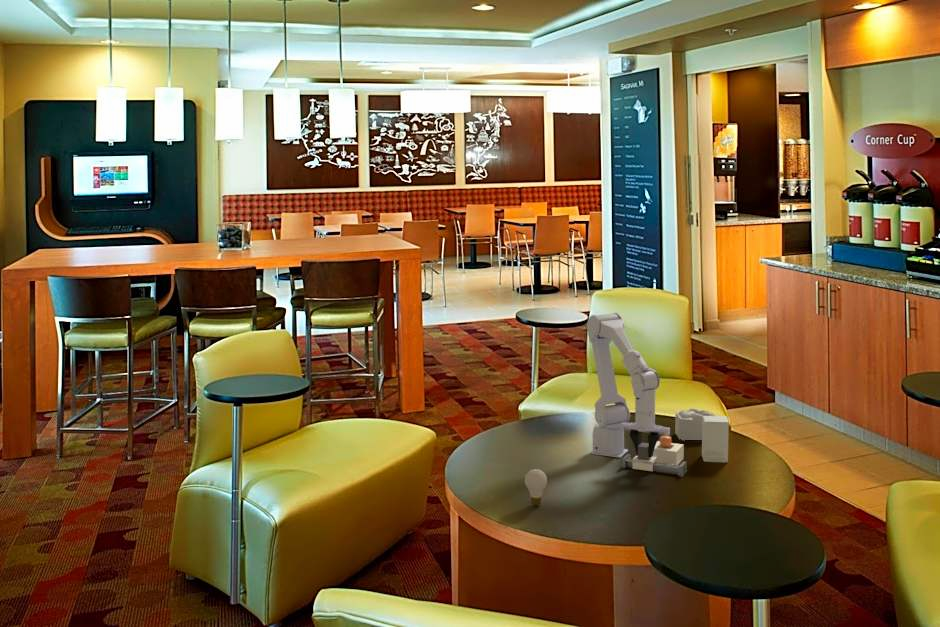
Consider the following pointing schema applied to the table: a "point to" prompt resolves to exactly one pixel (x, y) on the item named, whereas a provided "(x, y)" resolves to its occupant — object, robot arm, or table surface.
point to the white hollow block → (669, 453)
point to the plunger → (665, 442)
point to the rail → (659, 466)
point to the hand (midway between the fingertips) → (644, 455)
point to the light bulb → (535, 485)
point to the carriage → (644, 458)
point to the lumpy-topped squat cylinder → (690, 424)
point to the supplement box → (715, 438)
